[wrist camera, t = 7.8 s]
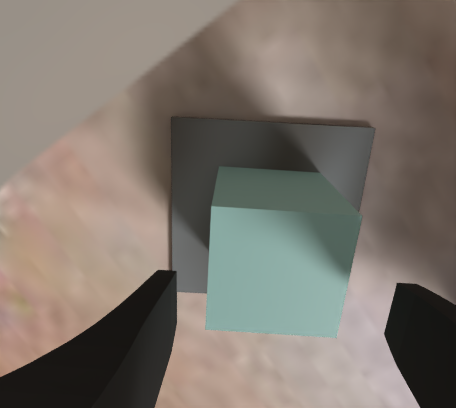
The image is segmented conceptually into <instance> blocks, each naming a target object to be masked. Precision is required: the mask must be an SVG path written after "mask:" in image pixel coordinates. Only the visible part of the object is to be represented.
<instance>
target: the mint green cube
mask: <svg viewBox="0 0 456 408" xmlns="http://www.w3.org/2000/svg"><path fill="white" fill-rule="evenodd" d="M361 220H362V215H361V214H360V213H359V212H358V211H357V210H356V209H355V208H354V207H353V206H352V205H351V204H350V203H349V202H348V201H347V200H346V199H345V198H344V197H343V196H342V195H341V194H340V193H339V192H338V190H337V189H336V188H335V187H334V186H333V185H332V184H331V183H330V182H329V181H328V180H327V179H326V178H325V177H324V176H323V175H322V174H321V173H315V172H300V171H285V170H270V169H254V168H239V167H224V166H219V169H218V174H217V179H216V185H215V190H214V195H213V200H212V205H211V223H210V244H209V264H208V285H207V306H206V327H205V330H221V331H237V332H252V333H268V334H284V335H299V336H315V337H331V338H337V333H338V328H339V324H340V319H341V314H342V310H343V305H344V300H345V295H346V291H347V286H348V281H349V277H350V272H351V267H352V263H353V258H354V253H355V248H356V244H357V239H358V234H359V230H360V225H361Z"/></svg>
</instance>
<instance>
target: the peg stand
mask: <svg viewBox="0 0 456 408" xmlns="http://www.w3.org/2000/svg"><path fill="white" fill-rule="evenodd" d="M374 133H375V128H373V127H357V126H338V125H319V124H301V123H282V122H263V121H245V120H226V119H207V118H189V117H171V162H172V271H177V292H190V293H207V285H208V264H209V244H210V223H211V205H212V200H213V195H214V190H215V185H216V179H217V174H218V169H219V166H224V167H239V168H254V169H270V170H285V171H300V172H315V173H321V174H322V175H323V176H324V177H325V178H326V179H327V180H328V181H329V182H330V183H331V184H332V185H333V186H334V187H335V188H336V189H337V190H338V192H339V193H340V194H341V195H342V196H343V197H344V198H345V199H346V200H347V201H348V202H349V203H350V204H351V205H352V206H353V207H354V208H355V209H356V210H357V211H358V212H359V209H360V204H361V199H362V194H363V189H364V184H365V179H366V174H367V168H368V163H369V158H370V153H371V148H372V143H373V138H374Z"/></svg>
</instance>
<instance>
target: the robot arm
mask: <svg viewBox="0 0 456 408" xmlns="http://www.w3.org/2000/svg"><path fill="white" fill-rule="evenodd" d="M176 325H177V271H169V270H158V271H156V272H155V273H154V274H153V275H152V276H151V277H150V278H149V279H148V280H146V281H145V282H144V283H143V284H142V285H141V286H140V287H139V288H138V289H137V290H136V291H135V292H134V293H132V294H131V295H130V296H129V297H128V298H127V299H126V300H124V301H123V302H122V303H121V304H120V305H119V306H117V307H116V308H115V309H114V310H112V311H111V312H110V313H109V314H107V315H106V316H105V317H103V318H102V319H101V320H100V321H98V322H97V323H96V324H94V325H93V326H91V327H90V328H88V329H87V330H85V331H84V332H82V333H81V334H79V335H78V336H76V337H75V338H73V339H71V340H70V341H68V342H67V343H65V344H63V345H61V346H60V347H58V348H56V349H54V350H52V351H51V352H49V353H47V354H45V355H43V356H42V357H40V358H38V359H36V360H34V361H33V362H31V363H29V364H27V365H25V366H23V367H21V368H19V369H17V370H15V371H13V372H11V373H8V374H6V375H4V376H2V377H0V408H154V407H155V404H156V401H157V398H158V394H159V391H160V388H161V385H162V381H163V378H164V375H165V372H166V368H167V365H168V362H169V358H170V355H171V352H172V347H173V341H174V336H175V330H176ZM384 335H385V338H386V340H387V343H388V346H389V348H390V351H391V353H392V356H393V358H394V360H395V363H396V365H397V367H398V368H399V370H400V372H401V374H402V376H403V378H404V379H405V381H406V383H407V385H408V387H409V388H410V390H411V392H412V394H413V395H414V397H415V399H416V401H417V402H418V404H419V406H420V408H456V305H454V304H453V303H451V302H449V301H448V300H446V299H444V298H442V297H441V296H439V295H437V294H435V293H433V292H432V291H430V290H428V289H426V288H424V287H422V286H420V285H417V284H409V283H397V286H396V290H395V293H394V297H393V301H392V305H391V309H390V313H389V317H388V321H387V325H386V329H385V332H384Z"/></svg>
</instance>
